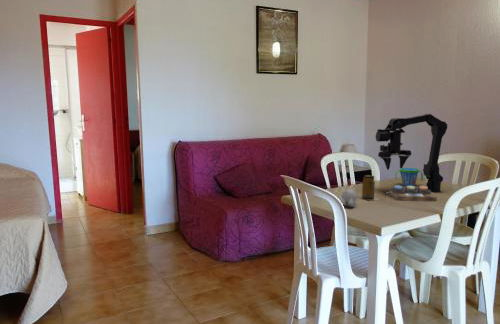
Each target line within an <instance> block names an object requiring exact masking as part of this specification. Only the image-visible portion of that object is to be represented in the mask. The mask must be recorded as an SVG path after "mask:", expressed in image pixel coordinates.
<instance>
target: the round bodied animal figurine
mask: <svg viewBox="0 0 500 324" xmlns="http://www.w3.org/2000/svg"><path fill="white" fill-rule="evenodd" d="M357 200H358V193H357V192H356V190H354V189H353V188H346V189H345V190H344V191H342V193H341V200H340V203H341V202H342V203H343V205H344V207H348V206H349V207H350V208H355V206H356V205H355V204H357V203H356V201H357ZM343 205H342V206H343Z"/></svg>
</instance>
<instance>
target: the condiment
mask: <svg viewBox="0 0 500 324" xmlns="http://www.w3.org/2000/svg"><path fill="white" fill-rule="evenodd" d="M375 183H376V182H375V176H374V175H372V174H371V175H370V174H366V175H363V180H362V188H361V190H362V191H361V196H359V197H358V198H359V199H362V200H366V201H378V200H379V198H378V197H375Z"/></svg>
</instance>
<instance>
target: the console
mask: <svg viewBox="0 0 500 324" xmlns="http://www.w3.org/2000/svg"><path fill="white" fill-rule="evenodd" d="M388 194H390V197H391V198H393V200H394V201H411V202H412V201H414V202H437V200H438V197H437V196H435V195H434V194H432V192H431V190H429V189H428V190H419V187H415V190H407V187H404V188H403V187H402V190H395V189H394V187H391V189H390V190H389V193H388Z"/></svg>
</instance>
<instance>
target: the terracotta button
mask: <svg viewBox="0 0 500 324" xmlns="http://www.w3.org/2000/svg"><path fill="white" fill-rule="evenodd" d="M418 188H419V190H428V187H427V186H426V185H419V187H418Z"/></svg>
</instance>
